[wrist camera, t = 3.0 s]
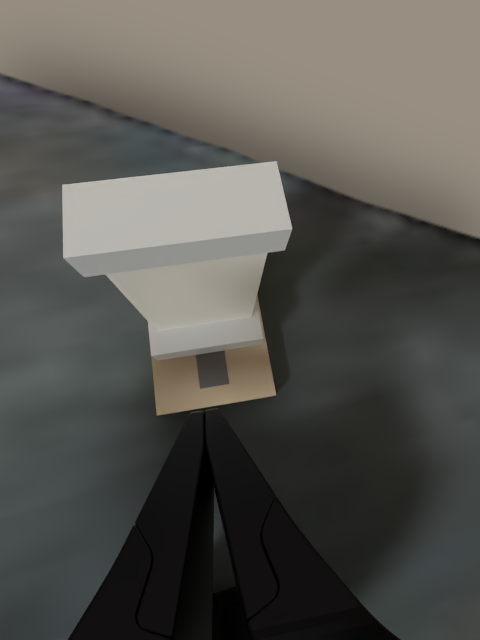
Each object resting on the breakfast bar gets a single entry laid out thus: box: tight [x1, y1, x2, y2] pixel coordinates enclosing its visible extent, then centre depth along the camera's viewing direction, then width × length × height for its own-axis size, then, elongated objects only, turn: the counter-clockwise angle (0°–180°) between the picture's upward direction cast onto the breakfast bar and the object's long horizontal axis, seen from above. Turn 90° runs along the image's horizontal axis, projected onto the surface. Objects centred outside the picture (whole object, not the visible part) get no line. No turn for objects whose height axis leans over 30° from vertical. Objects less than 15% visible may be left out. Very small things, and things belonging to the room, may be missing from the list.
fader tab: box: [62, 161, 292, 361], centre depth 16 cm, size 5×7×13 cm
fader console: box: [151, 296, 276, 416], centre depth 24 cm, size 18×8×2 cm, turn 9°
